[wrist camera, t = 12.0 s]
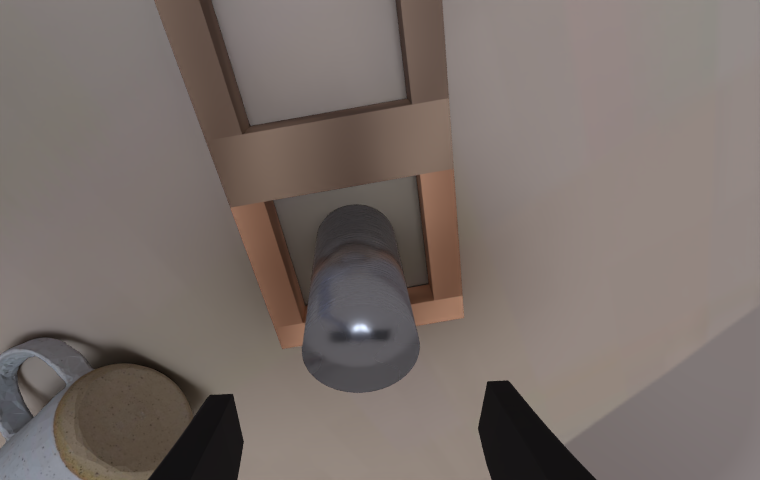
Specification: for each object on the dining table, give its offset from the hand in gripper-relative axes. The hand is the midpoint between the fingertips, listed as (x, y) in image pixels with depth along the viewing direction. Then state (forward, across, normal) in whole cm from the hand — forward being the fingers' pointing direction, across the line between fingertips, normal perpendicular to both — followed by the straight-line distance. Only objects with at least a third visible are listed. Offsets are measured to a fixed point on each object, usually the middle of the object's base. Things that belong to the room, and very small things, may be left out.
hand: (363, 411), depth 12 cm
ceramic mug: (+11, +15, +10) cm, 21 cm away
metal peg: (+10, 0, 0) cm, 10 cm away
